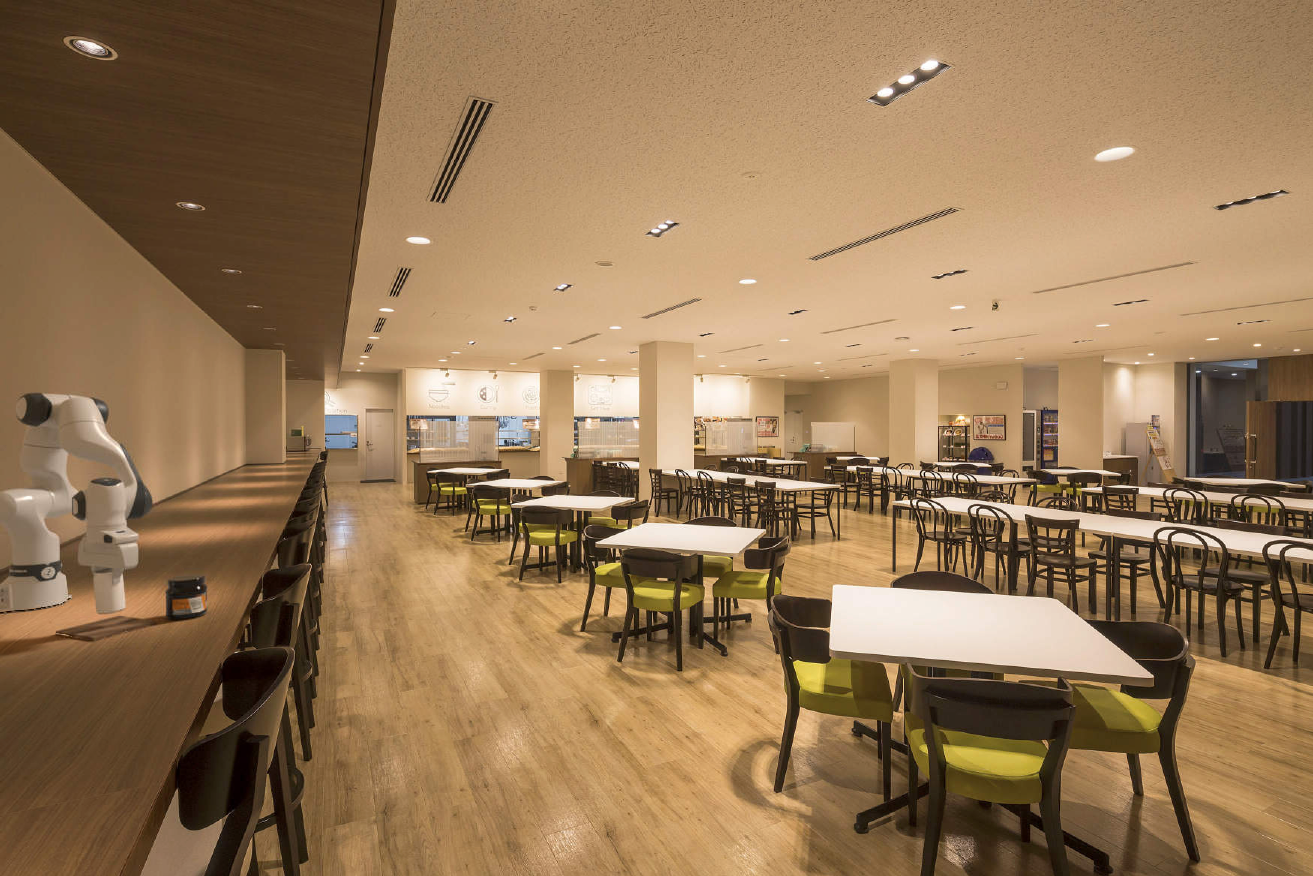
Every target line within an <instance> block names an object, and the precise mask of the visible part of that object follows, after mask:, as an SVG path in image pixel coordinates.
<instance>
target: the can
mask: <svg viewBox="0 0 1313 876" xmlns="http://www.w3.org/2000/svg"><path fill="white" fill-rule="evenodd" d="M113 573H114V572H112V568H102V569H101V570H98V571H96V572H95V575H93V589H94V590H93V592H94V601H95V602H94V603H95V610H96V613H97V614H98V615H109V614H115V613H118V612H121V611H123V610H125V608H126V607H127V606H126V595H125V594H126V593H125V584H124V575H123V573H122V575H121V577H120V583H117V584H113V583H112V576H113Z"/></svg>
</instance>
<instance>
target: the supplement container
mask: <svg viewBox="0 0 1313 876" xmlns="http://www.w3.org/2000/svg"><path fill="white" fill-rule="evenodd" d="M166 585H167V588H166V589H165V591H164V593H165V594H164V595H165V617H166V618H167V619H168V620H170V619H172V621H179V620H178V619H185V620H190V619H191V618H192V619H195V617H196V618H199V617H201V616H203V615H205V614H207V612H208V585H207V584H206V575H205V574H199V573H194V574H193V573H192V574H191V573H190V574H184V575H183V574H182V575H176V576H173V577H169V578H168V579H167V584H166ZM198 616H199V617H198Z"/></svg>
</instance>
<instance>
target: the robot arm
mask: <svg viewBox="0 0 1313 876" xmlns="http://www.w3.org/2000/svg"><path fill="white" fill-rule="evenodd" d="M16 403H17V404H16V406H15V413H16V418H17V420H18V421H19V422H20V423H21V424H23V425H27V427H26V430H25V432H24V435H23V441H22V446H21V452H20V457H19V463H18V464H19V468H20V470H22V472H24V473H26V474H28V475H29V476H30V481H31V482H30V483H31V484H30V486H25V487H23V486H22V487H13V488H10V489H9V488H8V489H6V490H2V491H0V524H1V526H3V528H5V530H6V531H7V533H8V535H9V537H10V540H11V551H12V564H11V565H9V567H8V569H9V572H8V577H7V578H6V579H4V581H2V582H1V583H0V611H5V610H22V609H23V610H24V609H31V608H38V607H46V608H48V607H47V606H51V607H53V606H52V605H55V604H59V605H62V604H64V603H63V602H64V601H66V602H68V600H67V599H68V598H71V599H73V597H72V596H73V595H72V594H68V585H67V584H68V583H67V577H66V575H65V574H64V573H62V572H61V571H62V570H63V568H62V567H63V563H62V559H61V558H60V555H61V553H60V552H61V551H60V549H61V548H60V537H59V535H58V534H57V533H55V532H53V531H50V530H49V529H48V527H47V526H46V521H45V520H46V519H52V518H53V519H54V518H58V517H59V518H60V517H63V516H64V515H68V514H70V513H71V515H72V516H73V517H75V518H76V519H77V520H79V521H81V522H83V521H84V522H87V523H86V533H85V534H84V535H83V536H82V537H81V541H80V542H79V544H78V549H77V550H78V551H77V563H78V565H80V566H84V567H85V566H87V567H90V570H91V572H92V574H93V576H94V575H95V572H96V571H98V570H102V569H107V568H112V572H114V573H113V576H112V583H113V584H117V583H120V577H121V575H122V574H123V573H124V570H130V569H135V568H136V567H137V566H138V563H139V546H138V543H137V542H138V541H139V537H140V535H139V533H138V532H136V531H134V530H132V529H131V528H129V527H128V523H127V520H129V519H130V520H135V519H136V520H137V519H138V520H139V519H141V518H143V517H144V516H146V515H147V514H149V512H150V511H151V510H152V509H153V504H154V503H153V498H152V497H153V496H152V494H151V492H150V490H149V489H148V487H147V486H146V485H145V483H144V482H143V480H142V478H141V476H140V474H139V471H138V470H137V467H136V465H135V463H134V462H133V460H132V457H131V456H130V453H129V452H128V450H127V449H126V447H125V445H124V444H123V443H121V442H118V441H116V440H115V439H113V438H112V437H111V436H110V434H109V433H108V431H107V428H106V423H107V422H108V419H109V415H110V414H109V413H110V411H109V406H108V405H107V403H106V402H105V401H104V400H102V399H99V398H96V397H86V396H81V395H76V394H75V395H74V394H66V393H65V394H58V393H42V392H29V393H24V394H22V395H21V396H20V398H18V401H17V402H16ZM69 455H70V456H73V457H75V458H78V459H80V460H85V461H91V462H95V463H100V464H103V465H106V466H109V467H111V468H112V469H113V470H114V471H115V472H116V475H117V476H118V478H115V477H113V478H112V477H100V478H95V479H92V480H90V481H89V482H88V486H87V488H85V489H82V490H81V489H80V491H78V490H77V488H75V487H74V486H73V485H72V484H71V483H70V479H69V478H68V474H67V465H68V458H69ZM61 603H62V604H61Z"/></svg>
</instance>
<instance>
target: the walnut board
mask: <svg viewBox="0 0 1313 876" xmlns="http://www.w3.org/2000/svg"><path fill="white" fill-rule="evenodd" d="M154 624H155V625H157V620H153V619H152V620H151V619H146V618H140V617H139V618H138V617H131V616H125V615H116V616H112V617H108V618H103V619H101V620H99V619H98V620H96V621H92V622H87V623H84V624H80V625H75V626H71V627H68V628H64V629H59V630H56V631H55V634H56V633H59V634H66V635H69V636H72V637H78V638H81V639H80V640H85V641H90V640H92V642H96V641H99V640H103V638H104V637H107V638H110V637H109V636H111V637H113V636H112V635H115V634H118V635H121V634H120V633H122V632H125V631H129V632H132V631H131V630H133V629H137V628H140V629H143V628H142V627H144V628H146V627H145V626H148V625H151V626H154ZM148 627H149V626H148ZM137 630H138V629H137ZM133 631H134V630H133ZM122 634H123V633H122ZM115 636H116V635H115ZM72 637H71V638H72ZM78 638H77V639H78ZM104 639H105V638H104ZM95 640H96V641H95Z"/></svg>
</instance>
